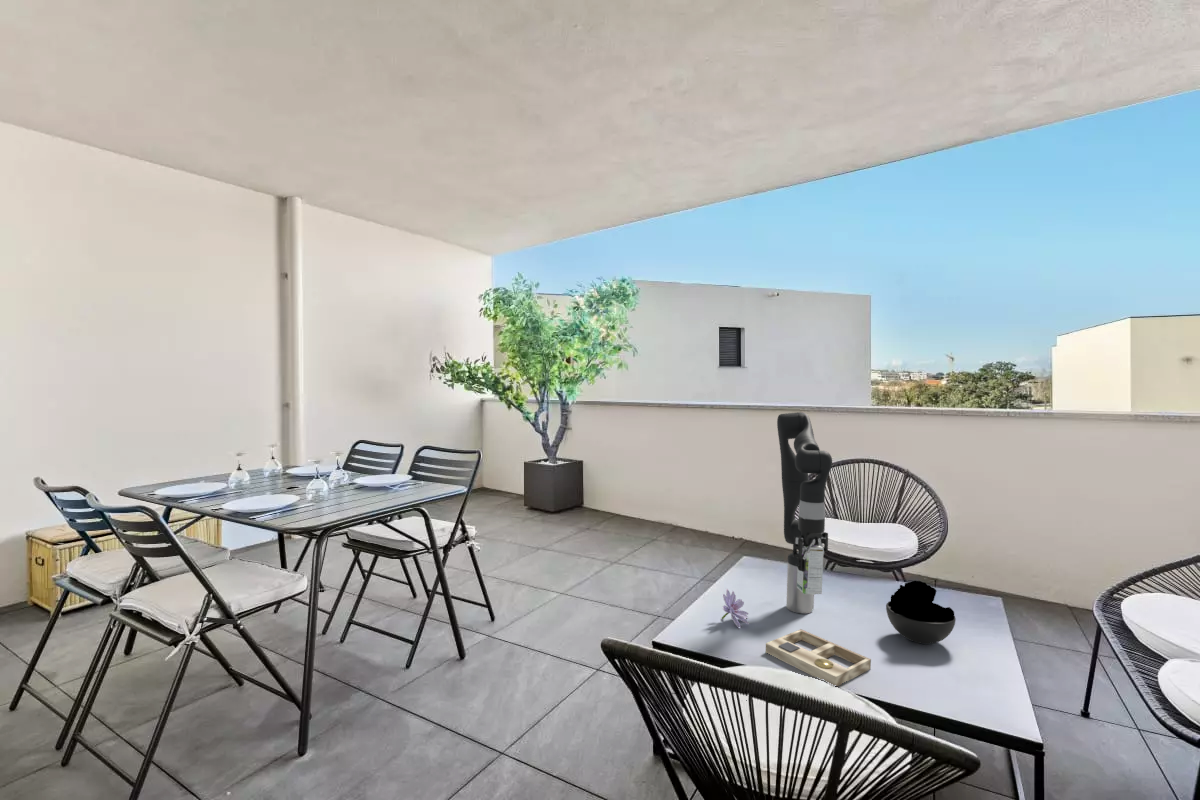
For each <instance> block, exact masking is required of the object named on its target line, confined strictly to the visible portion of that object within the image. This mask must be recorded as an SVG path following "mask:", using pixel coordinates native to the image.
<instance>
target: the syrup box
mask: <svg viewBox="0 0 1200 800" xmlns="http://www.w3.org/2000/svg"><path fill="white" fill-rule="evenodd" d="M823 547H824V546H823ZM823 547H821V546H819V545H813V546H812V547H811V549H810V553H807V556H806V571H804V572H802V571H799V570H798V571H797V588H798V589H799V590H800V591H801V592H802V593H803V594H814V595H823V574H824V573H823V570H824V569H823V568H824V555H823V551H824V548H823ZM803 548H804V549H807V548H808V547H806V546H803ZM803 553H804V552H802V555H803Z"/></svg>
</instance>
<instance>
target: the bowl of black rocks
mask: <svg viewBox="0 0 1200 800" xmlns="http://www.w3.org/2000/svg"><path fill="white" fill-rule="evenodd" d="M936 594H937V589H936V588H935V587H933V586H931V585H930V584H929V585H928V584H927V583H926V582H925V581H921V580H913V581H909V582H905V583H904V585H902V584H899V588H897V590H896V591H895V592H894V593H893V594H890V595H891V596H890V601H888V602H887V603H886V605H885V610H886V614H887V618H888V620H889V622H890V624H891V625H892V627H893V628H894V629H895V631H897V632H898V634H900V635H901V636H902V637H904V638H906V639H907V640H909V641H911V642H914V643H917V644H924V645H925V644H926V645H929V644H936V643H939V642H941V641H943V640H945V639H946V638H947V637H948V636H949V635H950V634H951V633H952V631H953V629H954V627H955V626H956V620H957V619H956V616H955V611H954V610H953V608H951V607H950V606H947V607H944V606H942V605H940V604H938V603H935V602H934V601H935V597H936Z"/></svg>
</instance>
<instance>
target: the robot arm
mask: <svg viewBox="0 0 1200 800" xmlns="http://www.w3.org/2000/svg"><path fill="white" fill-rule="evenodd" d="M776 423H777V424H776V426H777V435H778V443H779V451H780V452H779V453H780V462H781V463H780V465H781V466H780V467H781V486H782V495H783V535H784V536H783V538H784V540H785V542H786V543H787V544H790V545H792V552H791V553H789V554H788V555H787V571H786V572H787V575H786V576H787V577H786V609H787V610H789V611H790V612H794V613H797V614H810V613H812V612H813V610H814V606H815V605H814V604H815V594H803V593H802V592H801V591H800V590H799V589H798V588H797V571H798V570H799V571H802V572H804V571H806V556H807V553H810V549H811V547H812V546H813V545H819V546H821V547H823V548H824V551H823V556H824V555H825V552H828V551H829V533H828V532H825V530H826V529H825V526H826V524H825V523H826V522H825V521H826V506H825V499H826V497H825V496H826V495H825V494H826V485H827V481H828V478H829V475H830V473H831V469H832V465H833V458H832V455H831V453H829V452H828V451H826V450H821V449H820V447H819V445H818V443H817V441H816V440H815V434H814V431H813V426H812V423H811V419H810V417H809V415H808V413H806V412H801V411H800V412H787V413H781V414H778V416H777V421H776ZM793 439H794V441H793V449H794V450H793V449H792V448H791V445H790V443H789V440H793ZM794 451H795V452H794ZM795 453H796V454H795ZM809 474H815V475H816V477H814V478H812V479H809ZM797 508H798V519H796V511H797ZM803 546H806V547H808V548H807V549H804V548H803ZM802 552H804V553H803V555H802Z"/></svg>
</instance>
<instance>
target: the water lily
mask: <svg viewBox="0 0 1200 800" xmlns="http://www.w3.org/2000/svg"><path fill="white" fill-rule="evenodd" d="M722 597H723V601H724V605H723V606H722V610H723V611H724V612H725V614H723V616H722V617H721V619H722V620H724V619H725V618H726V617H727V616H728V615H729V614H730V616H731V619H732V622H733V623H734V624H735V626H736V627H737V628H738V629H739V627H740V628H742V627H741V623H740V622H739V621H741V622H743V623H745V624H747V625H750V623H749V621H748V620H747V619H746V618H748V617H749V616H748V615H749V612H747V611H745V610H741V608H742V607H743V606H744V605H745V601H743V599H741V598H739V599H737V596H736V594H735V591H734V590H732V592H731V593H730V590H729V589H728V588H726V592H725V593H722ZM736 599H737V600H736Z"/></svg>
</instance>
